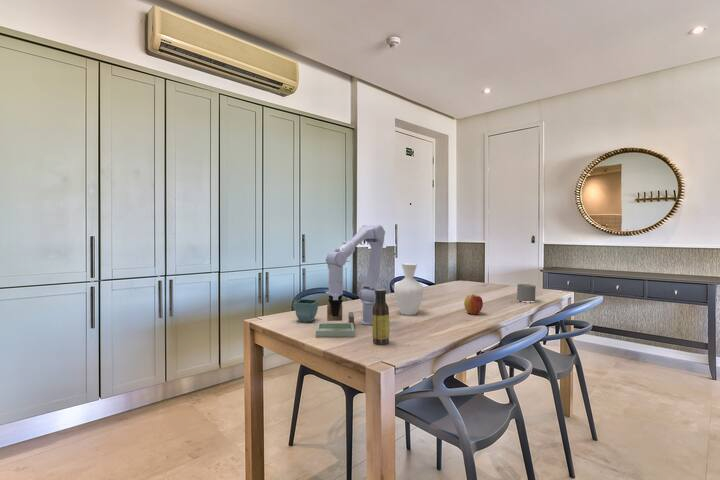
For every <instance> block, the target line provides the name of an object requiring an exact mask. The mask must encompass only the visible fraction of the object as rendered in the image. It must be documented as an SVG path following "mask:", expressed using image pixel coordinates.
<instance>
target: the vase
mask: <svg viewBox="0 0 720 480" xmlns="http://www.w3.org/2000/svg"><path fill="white" fill-rule="evenodd" d="M417 266H418V264H417V263H410V262H409V263H406V262H405V263H401V267H402V271H403V274H404V278H403V279H401V280H400V281H399V282H397V283H396V284H395V285H394V297H395V301H396V305H397V307H398V310H399V313H400V314H401V315H403V314H405V315H404V316H413V315H412V314H415V315H417V314H418V311H419V308H420V307H421V304H422V303H421V302H422V300H423V295H424V285H422V284H421V282H419V281H418V280H417V279H415V278H414V277H415V276H414V275H415V273H416V269H417ZM416 313H417V314H416Z"/></svg>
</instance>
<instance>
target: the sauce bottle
mask: <svg viewBox="0 0 720 480" xmlns="http://www.w3.org/2000/svg"><path fill="white" fill-rule="evenodd" d="M375 294H376V300H375V301H376V302H375V304H374V306H373V314H372V320H373V324H372V342H373V343H374V344H375V345H385V344H388V343H389V342H390V311H389V308H390V307H389V306H388V304H387V302H386V295H387V291H386V289H385V288H382V289H376V290H375Z"/></svg>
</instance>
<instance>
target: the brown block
mask: <svg viewBox="0 0 720 480" xmlns="http://www.w3.org/2000/svg"><path fill="white" fill-rule="evenodd" d="M326 305H327V307H326V313H327V314H326V316H327V317H326V321H327V322H343V302H342V303H341V305H340V309H339V314H338V317H333V316H332V310H331V305H330V303H329V302H327V304H326Z"/></svg>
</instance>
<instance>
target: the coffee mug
mask: <svg viewBox="0 0 720 480" xmlns="http://www.w3.org/2000/svg"><path fill="white" fill-rule="evenodd" d="M516 286H517V288H516V294H517V295H516V301H517V300H519V301H535V302H536V285H535V284H530V283H518V284H517V285H516Z"/></svg>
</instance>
